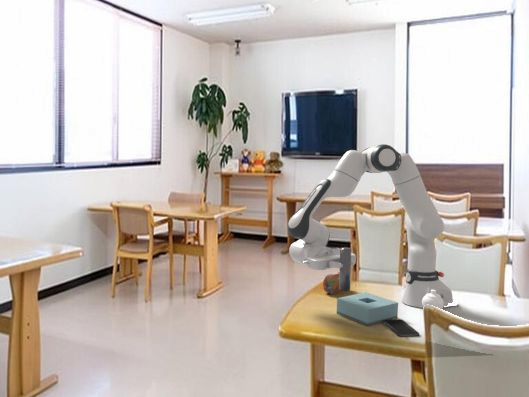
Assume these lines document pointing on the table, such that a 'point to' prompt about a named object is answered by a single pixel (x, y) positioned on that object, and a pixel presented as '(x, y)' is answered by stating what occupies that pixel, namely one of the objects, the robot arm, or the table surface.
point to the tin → (331, 283)
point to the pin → (345, 269)
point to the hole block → (367, 308)
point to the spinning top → (433, 299)
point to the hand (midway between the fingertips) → (347, 264)
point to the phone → (400, 328)
